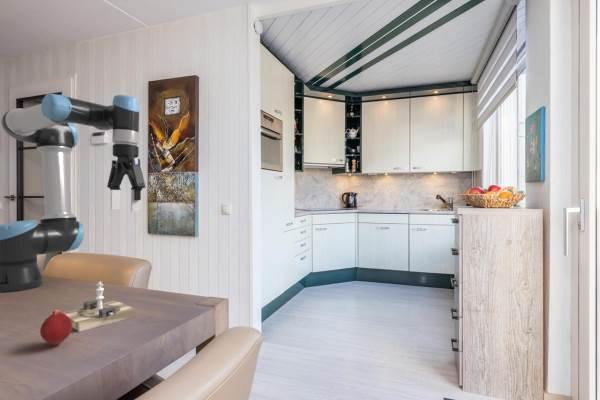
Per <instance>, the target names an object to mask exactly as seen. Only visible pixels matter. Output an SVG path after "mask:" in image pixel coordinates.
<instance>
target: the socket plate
mask: <svg viewBox="0 0 600 400" xmlns="http://www.w3.org/2000/svg"><path fill="white" fill-rule="evenodd" d="M97 301H98V299H92V300H87V301H83V307H81V308H78V309H73V310H68V311H64V312H62V313H63V314H65V315H67V316H68V317H69V318H70V320H71V322H72V329H75V331H77V332H79V333H80V332H83V331H84V332H85V331H88V330H91V329H95V328H98V327H102V326H105V325H110V324H113V323H117V322H120V321H124V320H127V319H130V318H131V319H132V318H135V317H136V316H137V315H136V313H137V312H136V311H137V309H136V308H134V307H132V306H130V305H128V304H125V303H122V302H120V301H117V300H112V301H108V302H102V306H103V309H99V315H93V314H95V312H96V309H97V307H96V308H93V307H92V306H91V304H96V305H97ZM108 311H109V312H111V313H113V316H110V315H108V314H107V312H108Z"/></svg>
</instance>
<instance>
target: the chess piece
mask: <svg viewBox="0 0 600 400" xmlns="http://www.w3.org/2000/svg"><path fill="white" fill-rule="evenodd" d="M103 286H104V284H103V283H102V281H98V283H96V287H97V288H95V292H96V296H95V298H94V300H98V301H97V309H96V312H95V314H93V315H99V309H103V306H102V303H103V299H105V297H104V295H103V293H104V289H105V288H104V287H103Z"/></svg>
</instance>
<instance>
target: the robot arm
mask: <svg viewBox="0 0 600 400" xmlns="http://www.w3.org/2000/svg"><path fill="white" fill-rule="evenodd" d="M111 104H112V105H103V104H98V103H96V102H95V103H94V102H90V101H86V100H83V99H77V98H74V97H70V96H65V95H63V94H55V93H47V94H46V95H44V97H43V98H42V101H41V103H40V104H35V105H33V106H29V107H26V108H20V107H19V108H13V109H9V110H8V111H6V112H4V114H3V115H2V117H1V120H0V121H1V122H0V123H1V126H2V129H3V130H4V132H5V133H6V134H7V135H9V136H10V137H11V138H13V139H15V140H17V141H19V142H23V143H29V144H36V145H35V146H36V151H38V152H39V153H40V154H41V165H42V169H41V170H42V183H43V184H42V185H43V202H44V215H43V216H42V217H41V218H40V220H39V222H38V220H35V219H28V220H26V219H25V220H17V221H11V222H5V223H2V224H0V293H8V292H9V293H10V292H19V291H24V290H25V291H26V290H29V289H33V288H36V287H37V288H38V287H39V286H41V285H43V284H44V278H43V274H42V272H41V269H40V267H39V265H38V256H40V255H49V254H56V253H57V254H58V253H66V252H69V251H74V250H77V249H78V248H79V247H80V246H81V245H82V244H83V240H84V237H85V228H84V226H83V223H82V222H81V221H78V220H77V216H76V214H74V213H72V199H71V197H72V196H71V183H70V181H71V180H70V166H69V165H70V163H69V154H71V152H73V148H75V147H76V146H77V145H78V140H79V132H78V131H79V130H78V129H77V126H76V124H77V125H82V126H88V127H94V129H96V130H100V131H110V130H112V143H113V144H112V156H113V157H115V158H116V157H117V160H116V159H114V160H113V159H112V161H111V169H110V172H109V176H108V177H109V178H108V182H107V188H108V189H109V190H110V210H121V187H120V186H121V184H122V182H123V179H124V177H125V176H127V178H128V181H129V183H130V185H131V187H130V212H141V211H142V210H141V209H142V208H141V206H142V205H141V204H142V202H141V200H142V199H141V198H142V196H141V195H142V190H143V189H145V188H146V183H145V179H144V176H143V172H142V167H141V158H139V155H140V154H139V151H140V150H139V149H140V147H139V146H138V145H139V140H140V136H139V129H140V105H139V104H140V103H139V100H138V99H137V98H136V97H133V96H131V95H125V94H116V95H114V96H113V98H112V103H111Z"/></svg>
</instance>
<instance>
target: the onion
mask: <svg viewBox="0 0 600 400" xmlns="http://www.w3.org/2000/svg"><path fill="white" fill-rule="evenodd" d="M72 331H73V328H72V322H71V320H70V318H69V317H68V316H67V315H65V314H63V312H61V311H60V310H58V309H55V310H53V311H52V314H50V315H49V316H48V317H47V318H45V320H44V321H43V323H42V324H41V326H40V330H39V333H40V337H41V338H42V340H43V341H45V342H47V343H49V344H51V345H53V346H59V345H60V344H62V343H63V342H64V341H65V340H66V339H67V338H68V337H69V336H70V334H71V332H72Z"/></svg>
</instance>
